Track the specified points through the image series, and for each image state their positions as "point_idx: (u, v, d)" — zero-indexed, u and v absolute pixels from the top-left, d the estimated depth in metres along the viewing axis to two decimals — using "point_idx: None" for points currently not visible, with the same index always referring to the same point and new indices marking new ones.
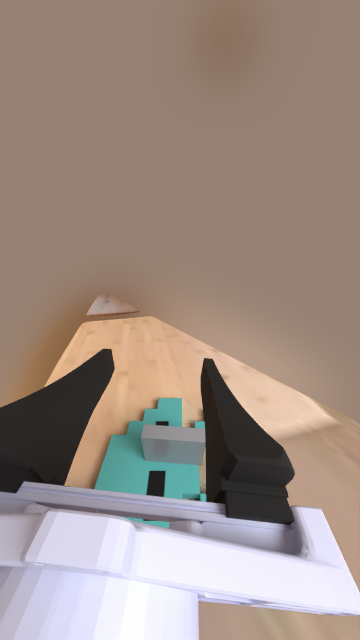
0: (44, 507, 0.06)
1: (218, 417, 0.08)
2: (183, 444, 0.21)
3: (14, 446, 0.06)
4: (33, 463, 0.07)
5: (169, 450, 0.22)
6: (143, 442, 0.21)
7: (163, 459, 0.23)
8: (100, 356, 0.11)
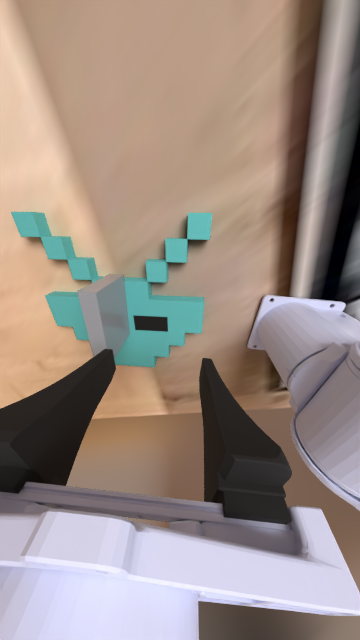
0: (45, 507, 0.06)
1: (216, 417, 0.08)
2: (106, 317, 0.16)
3: (17, 446, 0.06)
4: (35, 463, 0.07)
5: (115, 324, 0.18)
6: (114, 356, 0.18)
7: (126, 319, 0.21)
8: (102, 356, 0.11)
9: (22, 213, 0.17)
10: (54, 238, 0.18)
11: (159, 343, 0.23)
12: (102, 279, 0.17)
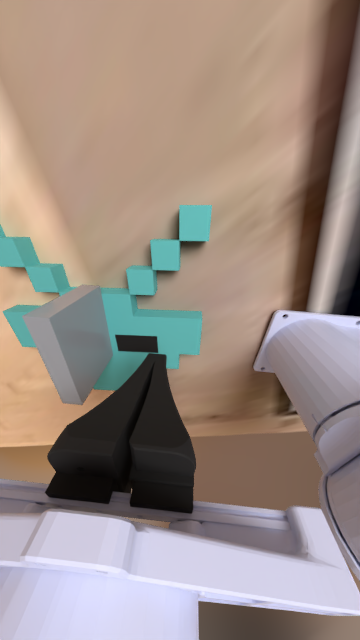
0: (45, 507, 0.06)
1: (142, 409, 0.08)
2: (71, 346, 0.12)
3: (114, 457, 0.06)
4: (120, 473, 0.07)
5: (89, 350, 0.14)
6: (89, 391, 0.14)
7: (106, 340, 0.17)
8: (151, 361, 0.11)
9: None
10: (4, 240, 0.13)
11: None
12: (68, 293, 0.13)
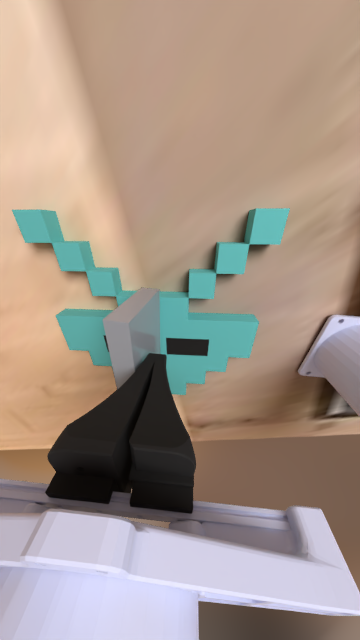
0: (44, 507, 0.06)
1: (142, 409, 0.08)
2: (138, 350, 0.11)
3: (114, 457, 0.06)
4: (120, 473, 0.07)
5: None
6: None
7: (158, 343, 0.16)
8: (151, 361, 0.11)
9: (27, 211, 0.12)
10: (70, 244, 0.13)
11: (195, 368, 0.19)
12: (133, 297, 0.13)
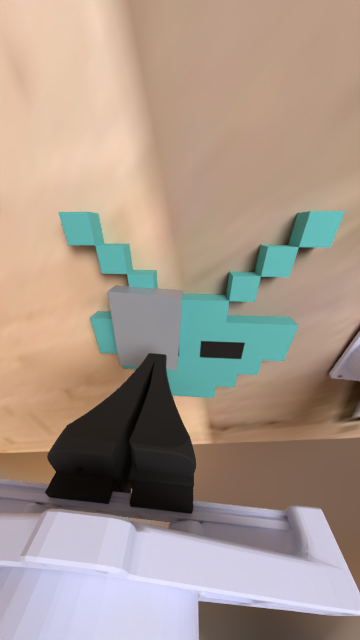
0: (45, 507, 0.06)
1: (142, 409, 0.08)
2: (122, 321, 0.15)
3: (114, 457, 0.06)
4: (120, 473, 0.07)
5: (141, 338, 0.15)
6: (130, 364, 0.17)
7: (170, 349, 0.16)
8: (151, 361, 0.11)
9: (74, 214, 0.12)
10: (114, 247, 0.13)
11: (227, 371, 0.19)
12: (156, 289, 0.14)
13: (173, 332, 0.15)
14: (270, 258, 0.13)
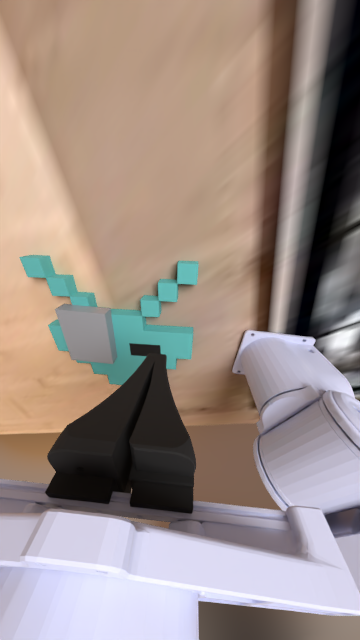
0: (45, 506, 0.06)
1: (142, 409, 0.08)
2: (68, 329, 0.21)
3: (114, 457, 0.06)
4: (120, 473, 0.07)
5: (83, 341, 0.22)
6: (79, 359, 0.24)
7: (105, 349, 0.22)
8: (151, 361, 0.11)
9: (30, 258, 0.19)
10: (58, 279, 0.20)
11: None
12: (91, 307, 0.21)
13: (104, 337, 0.21)
14: (161, 289, 0.19)
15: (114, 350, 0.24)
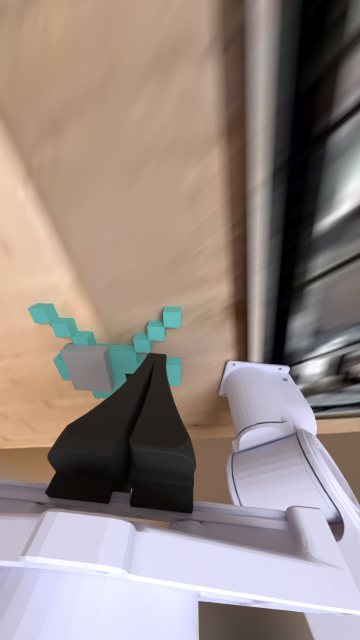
0: (45, 507, 0.06)
1: (142, 409, 0.08)
2: (71, 365, 0.24)
3: (114, 457, 0.06)
4: (120, 473, 0.07)
5: (85, 374, 0.25)
6: (81, 389, 0.27)
7: (104, 381, 0.25)
8: (151, 361, 0.11)
9: (36, 309, 0.22)
10: (61, 324, 0.23)
11: None
12: (91, 346, 0.24)
13: (103, 371, 0.24)
14: (150, 332, 0.22)
15: (112, 380, 0.27)
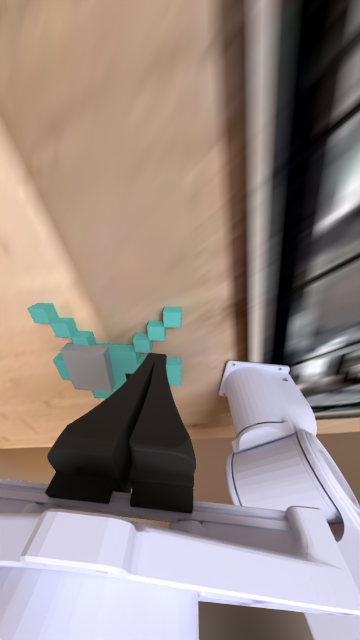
0: (45, 507, 0.06)
1: (142, 409, 0.08)
2: (71, 365, 0.24)
3: (114, 457, 0.06)
4: (120, 473, 0.07)
5: (85, 374, 0.25)
6: (81, 388, 0.27)
7: (104, 380, 0.25)
8: (151, 361, 0.11)
9: (36, 309, 0.22)
10: (61, 324, 0.23)
11: None
12: (91, 346, 0.24)
13: (103, 371, 0.24)
14: (150, 331, 0.22)
15: (112, 380, 0.27)
